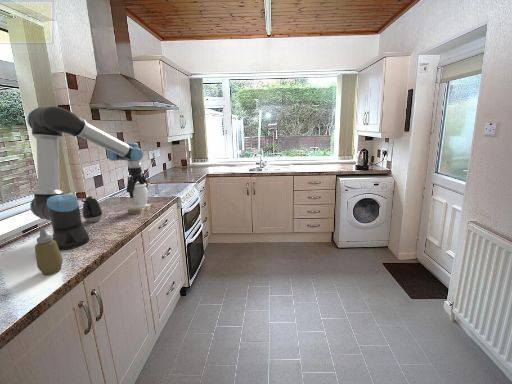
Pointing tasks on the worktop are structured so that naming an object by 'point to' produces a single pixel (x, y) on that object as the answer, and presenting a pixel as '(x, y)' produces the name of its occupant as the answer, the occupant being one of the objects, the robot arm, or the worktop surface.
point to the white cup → (140, 195)
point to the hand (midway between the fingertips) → (139, 199)
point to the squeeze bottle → (47, 254)
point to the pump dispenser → (91, 209)
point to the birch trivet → (140, 209)
